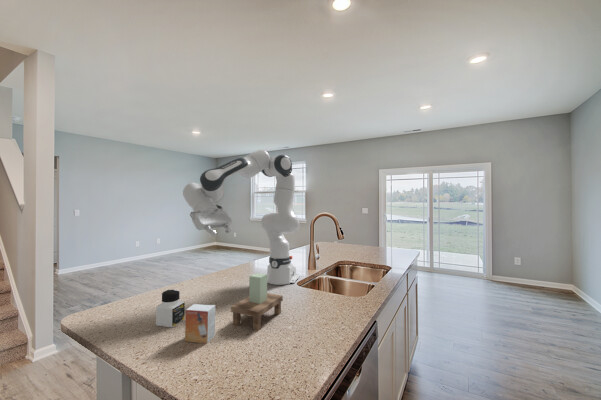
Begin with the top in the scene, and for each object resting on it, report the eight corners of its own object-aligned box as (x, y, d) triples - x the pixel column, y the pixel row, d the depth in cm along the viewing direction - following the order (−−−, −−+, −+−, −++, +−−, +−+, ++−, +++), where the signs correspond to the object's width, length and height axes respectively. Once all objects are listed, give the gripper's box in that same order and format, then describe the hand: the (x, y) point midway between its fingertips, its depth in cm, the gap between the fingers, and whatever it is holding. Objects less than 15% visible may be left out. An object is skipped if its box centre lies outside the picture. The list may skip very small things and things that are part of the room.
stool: (258, 307, 115) (258, 291, 115) (282, 312, 110) (282, 295, 110) (230, 325, 99) (231, 306, 99) (258, 331, 94) (258, 312, 94)
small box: (184, 342, 87) (184, 309, 87) (193, 333, 93) (193, 303, 93) (207, 344, 86) (207, 311, 86) (215, 335, 92) (215, 304, 92)
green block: (256, 297, 108) (256, 272, 108) (267, 299, 106) (267, 274, 106) (249, 301, 104) (249, 276, 104) (260, 303, 101) (260, 277, 102)
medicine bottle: (172, 327, 97) (172, 294, 97) (155, 325, 98) (155, 293, 98) (184, 319, 104) (185, 288, 104) (168, 317, 105) (169, 287, 105)
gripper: (191, 207, 114) (209, 231, 110) (224, 206, 132) (240, 226, 128) (184, 217, 116) (201, 241, 111) (217, 215, 134) (232, 235, 130)
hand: (222, 233), depth 120 cm, fingers open, 8 cm apart
